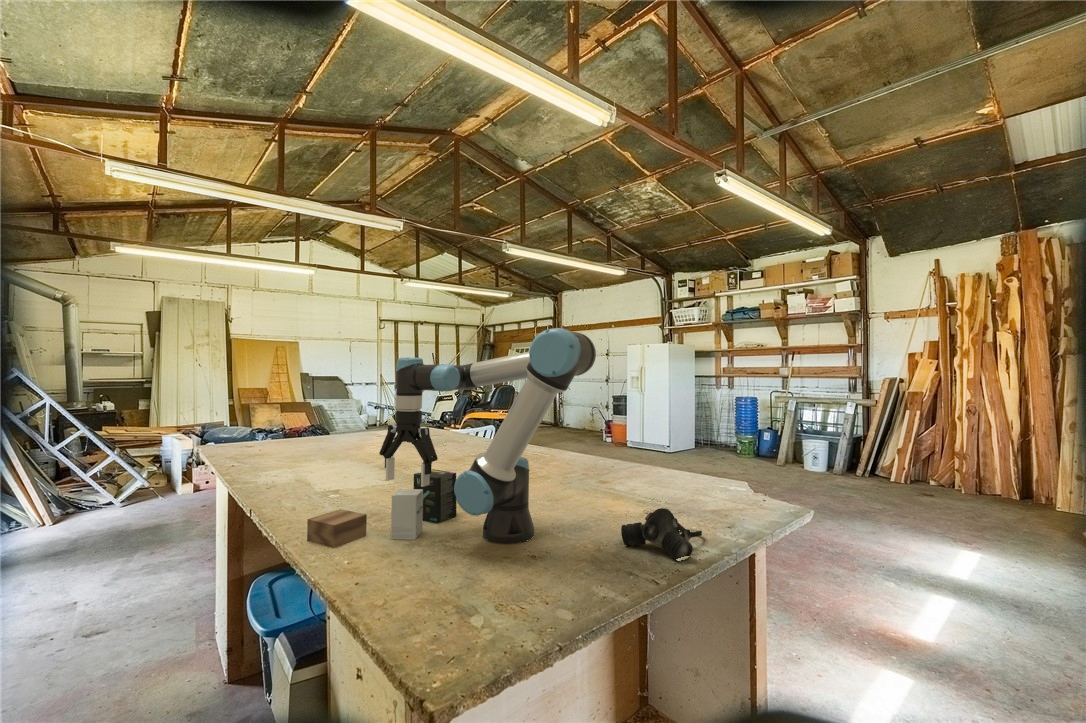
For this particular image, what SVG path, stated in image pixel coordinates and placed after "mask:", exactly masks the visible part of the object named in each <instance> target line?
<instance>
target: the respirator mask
mask: <svg viewBox="0 0 1086 723" xmlns="http://www.w3.org/2000/svg"><path fill="white" fill-rule="evenodd" d="M644 520H645V522H644V523H642V522H641V521H639V522H634V523H627V524H621V528H620V532H621V533H620V534H621V538H622V542H623V545H624V546H625V545H629V546H630V545H634V546H640V545H646V541H647V542H649V543H652V544H654V545H655V544H657V545H658V546H659V545H660V546H661V547H662V549H663V550H664V552H666V553H667V554H669V555H670V556H671V558H673V557H674V558H673V559H674V560H675V561H676V559H678V558H681V557H684V556H691V555H692V553H693V545H692V543H691V542H690V540H691V539H692V538H697V537H701V536H702V535H703V530H695V531H696V532H690V530H691V529H687V528H685V527H684V526H683V525H682V524H681V523H679V521H678V518H676V517H675V516H674V514H673V513H672V511H670V509H668V508H666V507H665V508H663V507H661V508H657V509H655V510H654V511H653V512H651V511H650V512H649V513H648V514H647V515H646V516H645V517H644ZM679 530H680V531H681V532H680V531H679Z"/></svg>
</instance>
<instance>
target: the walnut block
mask: <svg viewBox="0 0 1086 723" xmlns="http://www.w3.org/2000/svg"><path fill="white" fill-rule="evenodd" d="M367 519H368V518H367V514H366V513H361V512H356V511H351V510H346V509H342V508H341V509H337V510H334V511H330V512H326V513H324V514H320V515H317V516H314V517H310V518H307V528H306V531H307V533H306V541H307V542H310V543H315V544H318V545H322V546H326V547H330V548H336V547H339V546H342V545H344V544H347V543H350V542H353V541H355V540H358V539H360V538H362V537H365V536H367V525H368V524H367Z"/></svg>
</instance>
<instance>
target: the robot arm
mask: <svg viewBox="0 0 1086 723" xmlns="http://www.w3.org/2000/svg"><path fill="white" fill-rule="evenodd" d="M596 354H597V351H596V347H595V344H594V343H593V341H592V339H590V337H588V336H587V335H586V334H583V333H580V332H577V331H576V332H575V331H572V330H568V329H566V328H562V327H561V328H559V327H558V328H557V327H555V328H548V329H546V330H543V331H541V332H540V333H538V334H537V335H536V336H535V337H534V339H533V340H532V341H531V344H530V347H529V350H528V351H525V352H520V353H515V354H510V355H506V356H501V357H496V358H491V359H486V360H483V361H482V360H481V361H476V362H472V363H467V364H461V365H457V364H447V363H446V364H445V363H442V364H424V359H423V358H422V357H407V356H406V357H403V356H402V357H398V359H397V361H396V371H395V389H396V390H395V409H396V410H395V416H394V418H395V419H394V422H395V424H390V425H388V426H387V433H386V435H385V438H384V441H383V442H382V445H381V448H380V450H379V453H378V454H379V456H382V457H383V458H384V469H385V481H387V482H388V481H392V480H395V464H396V463H395V460H396V458H395V455H394V454H395V453H396V452H397V450H398V449H399V447H400V446H401V445H402V443H404V442H406V443H411V444H412V445H413V446H414V448H415V450H416V451H417V453H418V454H419V456H420V458H421V460H422V461H423V462H422V463H421V465H420V466H421V469H420V470H421V471H420V473H421V487H424V486H427V485H429V480H430V474H431V470H432V464H433V462H436V461H438V455H437V451H436V449H435V447H434V444H433V441H432V440H433V439H432V438H431V432H430V428H429V427H422V428H421V423H422V422H423V411H422V410H421V409H422V408H423V391H432V392H442V393H443V392H452V391H459V390H461V391H463V390H464V391H469V390H474V389H476V388H480V387H486V386H491V385H497V384H503V383H507V382H513V381H519V380H524V379H525V382H524V383H523V385H522V387H521V389H519V390H520V391H519V392H518V394H517V396H516V398H515V399H514V401H513V403H512V405H511V406H510V408H509V410H508V412H507V414H506V416H505V417H504V419H503V421H502V422H501V425H500V426H499V428H498V429H497V431H496V433H495V435H494V437H493V439H492V440H491V442H490V444H489V446H488V447H487V449H486V451H484V452H480V453H478V454H477V455H476V457H475V459H474V461H473V463H472V464H471V466H470V468H469V469H468V470H464V471H462V473H460V474H459V475H458V476H457V477H456V482H455V486H454V493H455V495H456V503H457V504H458V505H459V507H460V509H462V510H463V511H464V512H465V513H466V514H468V515H471V516H481V515H485V516H486V517H485V520H484V522H483V526H482V538H483V540H486V541H487V542H490V543H494V544H501V545H507V544H508V545H513V544H521V543H525V542H527V540H528V541H530V540H532V539H533V538H534V537H535V526H534V522H533V518H532V516H531V512H530V509H529V508H530V507H529V506H530V505H529V499H530V498H529V497H530V494H529V493H530V487H529V486H530V466H529V465H530V464H529V459H528V458H527V457H525V456H524V457H523V455H524V454H523V453H524V451H525V450H526V449H527V447H528V444H530V442H531V440H532V439H533V436H534V434H535V433H536V431H537V429H538V428H539V426H540V424H541V423H542V421H543V419H544V417H545V416H546V414H547V412H548V411H549V409H550V407H551V406H552V403H554V400H555V399H556V397H557V395H558V394H559V393H564V392H566V391H567V390H568V388H569V386H570V384H571V383H572V381H573V379H574V378H575V377H578V376H582V375H584V374H586V373H587V372H589V371H590V370H591V369H592V367H593V366H594V364H595V362H596V356H597V355H596ZM533 536H534V537H533ZM532 537H533V538H532ZM531 538H532V539H531Z"/></svg>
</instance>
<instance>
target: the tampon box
mask: <svg viewBox="0 0 1086 723" xmlns="http://www.w3.org/2000/svg"><path fill="white" fill-rule="evenodd" d="M456 479H457V472H453V471H447V470H440V469H431V474H430V480H429V485H427V486H424V487H421V472H418V473H417V472H416V473H414V474H413V489H423V521H424V522H428V523H432V524H439V523H441V522H445V521H448V520H450V519H453V518H456V517H457V516H458V514H457V500H456V495H455V493H454V486H455V482H456Z"/></svg>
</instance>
